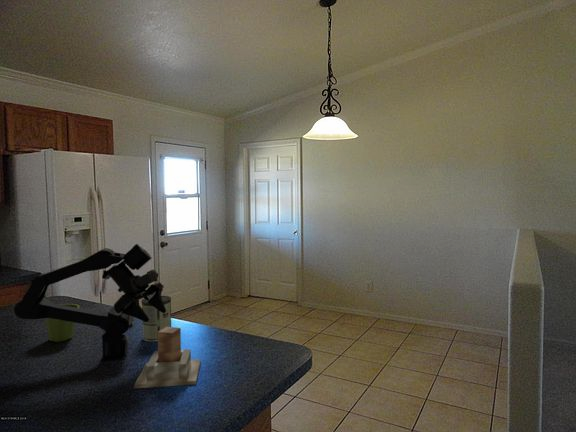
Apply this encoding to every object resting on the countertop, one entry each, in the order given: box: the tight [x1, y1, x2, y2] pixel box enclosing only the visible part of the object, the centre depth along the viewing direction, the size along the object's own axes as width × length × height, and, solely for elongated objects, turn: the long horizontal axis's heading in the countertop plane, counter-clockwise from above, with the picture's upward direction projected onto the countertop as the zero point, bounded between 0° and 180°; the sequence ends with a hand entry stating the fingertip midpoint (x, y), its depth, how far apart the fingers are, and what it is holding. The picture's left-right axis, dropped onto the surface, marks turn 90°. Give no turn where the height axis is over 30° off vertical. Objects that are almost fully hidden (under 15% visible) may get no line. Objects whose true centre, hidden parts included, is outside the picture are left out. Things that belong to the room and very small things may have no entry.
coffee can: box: [140, 295, 172, 343], centre depth 138 cm, size 10×10×14 cm
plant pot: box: [44, 303, 81, 343], centre depth 136 cm, size 12×12×11 cm
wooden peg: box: [157, 326, 182, 363], centre depth 108 cm, size 4×4×12 cm
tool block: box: [133, 348, 202, 389], centre depth 108 cm, size 16×14×5 cm
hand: (157, 316), depth 118 cm, fingers open, 9 cm apart
